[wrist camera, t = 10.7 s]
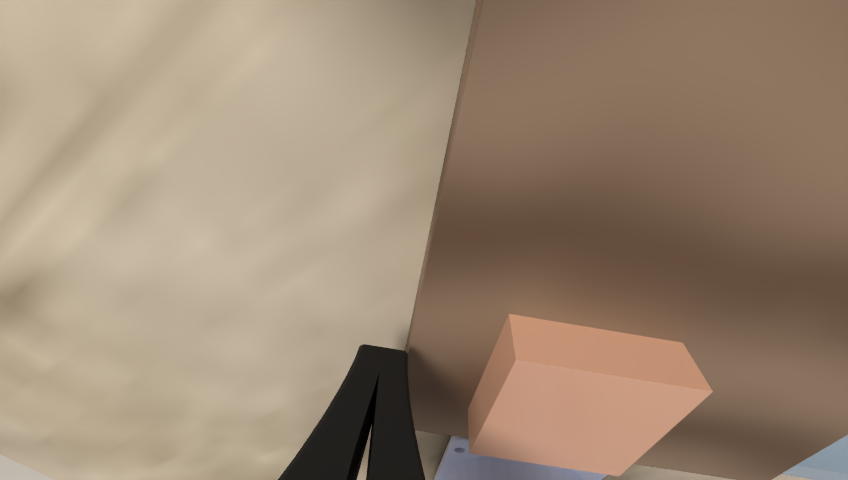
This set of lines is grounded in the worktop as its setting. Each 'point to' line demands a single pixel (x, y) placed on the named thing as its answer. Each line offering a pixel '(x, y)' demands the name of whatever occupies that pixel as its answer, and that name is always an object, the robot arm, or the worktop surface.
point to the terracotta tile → (580, 395)
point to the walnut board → (652, 211)
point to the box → (825, 463)
